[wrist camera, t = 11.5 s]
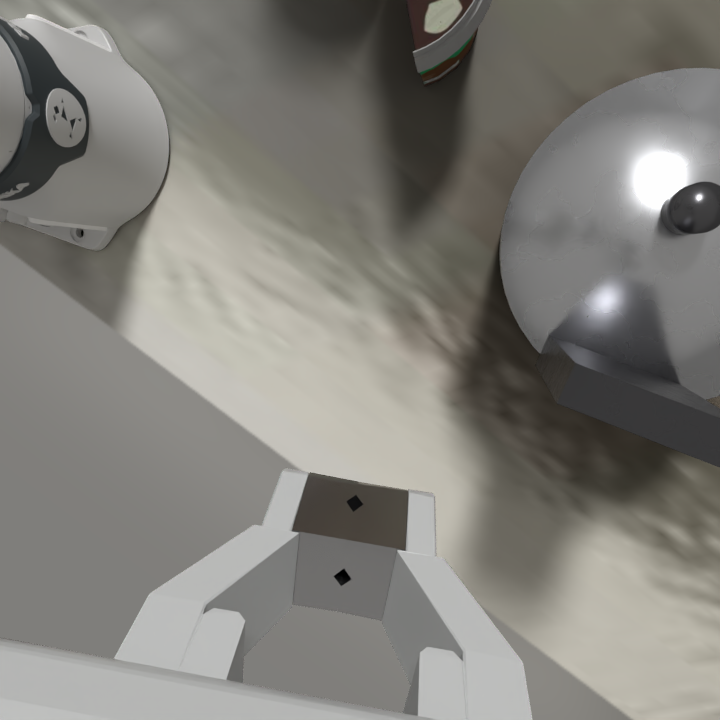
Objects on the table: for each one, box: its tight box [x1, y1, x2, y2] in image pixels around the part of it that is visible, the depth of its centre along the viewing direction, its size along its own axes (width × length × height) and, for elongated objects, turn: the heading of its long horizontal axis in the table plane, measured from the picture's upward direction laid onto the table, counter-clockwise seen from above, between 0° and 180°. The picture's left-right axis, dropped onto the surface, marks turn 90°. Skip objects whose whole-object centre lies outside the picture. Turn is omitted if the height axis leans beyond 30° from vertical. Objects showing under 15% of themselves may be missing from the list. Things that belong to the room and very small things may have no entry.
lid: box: [499, 68, 720, 467], centre depth 27 cm, size 18×18×10 cm
